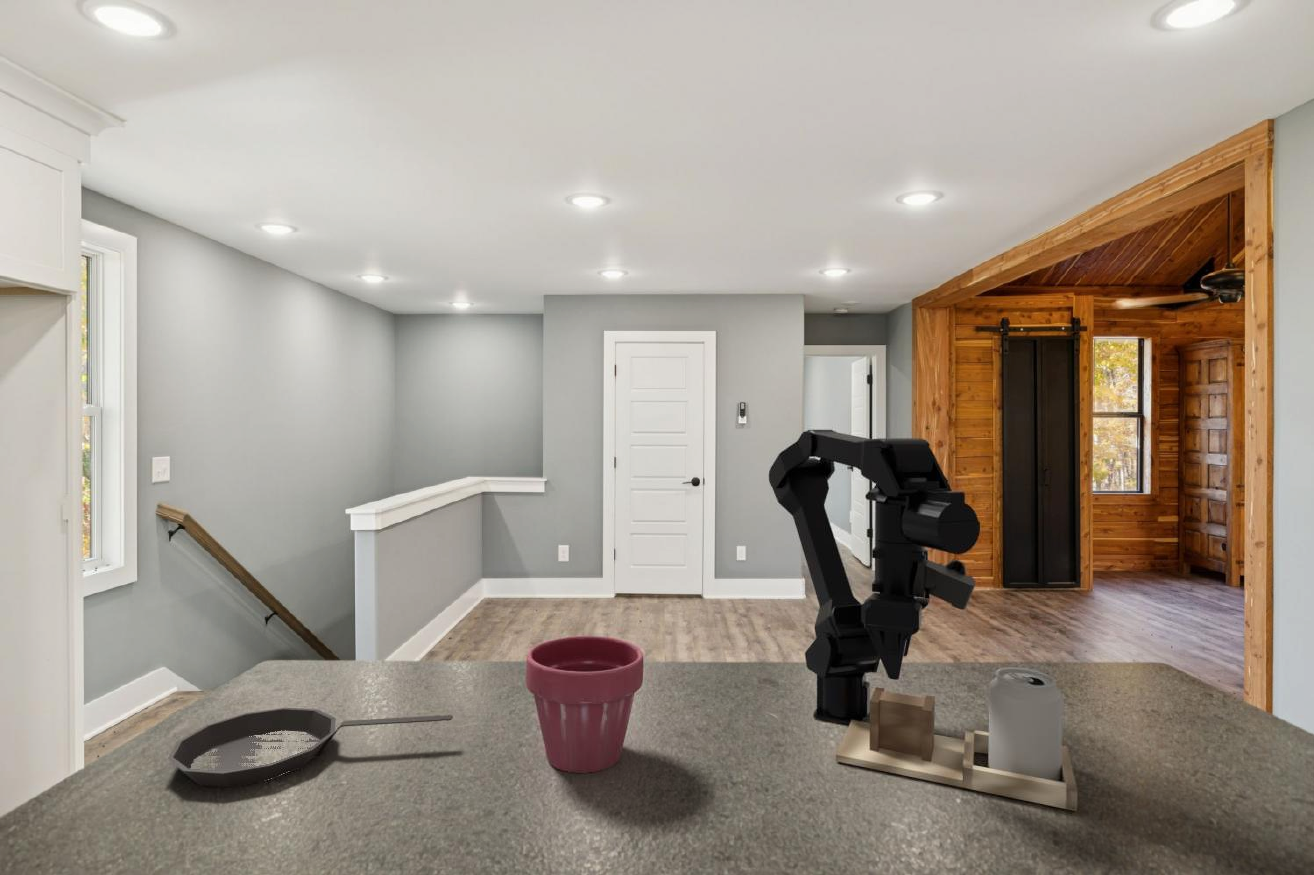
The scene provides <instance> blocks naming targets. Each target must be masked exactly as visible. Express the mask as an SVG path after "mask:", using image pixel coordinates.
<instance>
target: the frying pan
mask: <svg viewBox="0 0 1314 875" xmlns="http://www.w3.org/2000/svg"><path fill="white" fill-rule="evenodd" d="M453 717H454V716H453V715H452V714H446V715H425V716H410V717H408V716H407V717H406V716H405V717H390V718H389V717H388V718H387V717H386V718H375V719H374V718H373V719H372V718H371V719H351V720H344V721H342V722H341V723H340V725H339V726H338V727H337V729H336V723H337V722H336V720H337V718H336V717H334V716H332V715H330V714H329V713H326V712H324V711H322V710H320V709H318V708H317V709H316V708H315V709H314V708H301V707H300V708H299V707H279V708H273V709H265V710H258V711H250V712H244V713H242V714H237V715H235V716H231V717H228V718H225V719H221V720H219V721H215V722H212V723H209V724H206V725H204V726H202V727H201V728H199V729H197V730H195V731H194V732H192V733H190V734H188V735H186V736H184V737H182V738H181V739H179V740H178V741H176V743H175V744H174V747H173V748H172V750H171V751H170V753H169V755H168V757H167V760H168V761H169V762H170V763H171V764H172V765H174V766H175V767H176V768H177V769H179V771H181V772H182V773H183V774H184V775H186V777H189V778H190V779H191V780H192V779H193V780H192V781H193V782H195V783H196V782H197V783H196V784H198V785H199V784H201V785H200V786H205V785H214V786H213V787H220V786H225V787H224V788H234V787H239V785H240V786H244V785H245V784H246V785H251V783H252V784H256V783H255V782H257V783H260V782H259V781H263V782H265V781H264V780H268V779H271V778H274V777H276V778H278V777H277V776H279V775H281V774H283V773H286V772H288V771H291V772H293V771H292V770H294V769H297V768H299V769H301V768H303V767H304V766H305V765H307V764H308V763H309V762H310V761H311V760H313V759H314V758H315V757H317V756H318V755H319V754H320V755H321V754H322V753H323V751H325V748H326V747H327V746H328V745H329V743H330V742H331V741H332V739H333V737H334V736H335V735H336V734H337V733H338V731H339V730H340V729H341V728H344V727H358V726H375V725H393V724H395V725H396V724H410V723H429V722H440V721H441V722H442V721H451V720H453ZM281 730H282V731H285V730H286V731H293V732H294V731H295V732H297V731H298V732H303V733H304V732H306V733H307V734H306V735H310V736H311V735H312V736H311V737H312V738H314V739H315V740H314V739H313V740H312V739H310V738H309V741H308V740H307V741H305V742H318V743H316V744H315V745H314V746H312V747H309V748H308V747H307V749H308V750H305V751H303V752H300V753H297V754H295V755H292V756H289V757H287V758H284V759H281V760H279V761H276V762H273V763H270V764H265V765H259V766H255V765H254V764H253V765H254V766H253V765H252V764H251V765H252V766H253V767H252V766H251V767H250V766H249V767H248V766H247V764H246V766H244V765H245V764H244V763H256V762H254V761H255V760H254V759H255V758H254V759H250V761H249V759H248V758H246V757H245V756H255V749H262V746H261V745H259V743H258V745H256V744H257V743H254V742H284V741H282V739H281V740H280V739H279V740H278V739H277V740H273V739H272V740H270V741H268V740H267V741H266V739H265V740H264V739H263V740H261V739H262V738H261V737H260V738H259V737H258V738H256V736H254V735H263V734H264V735H265V734H266V733H267V734H266V735H270V734H268V733H270V732H275V731H276V732H277V731H281ZM271 735H277V734H275V733H274V734H271ZM278 735H282V733H281V734H278ZM288 735H289V734H288ZM301 735H302V734H301ZM303 735H304V734H303ZM249 736H250V737H249ZM251 736H252V737H251ZM301 741H302V740H301ZM303 741H304V740H303ZM252 742H253V743H252ZM288 742H289V741H288ZM294 742H295V741H294ZM296 742H297V741H296ZM310 746H311V745H310ZM260 747H261V748H260ZM278 747H279V746H278ZM278 747H277V749H278ZM280 747H281V746H280ZM280 747H279V749H281V748H280ZM271 748H272V746H271ZM271 748H270V749H271ZM273 748H274V746H273ZM273 748H272V749H273ZM282 748H283V747H282ZM212 749H218V750H217V752H216V750H215V752H214V753H213V752H212V753H211V751H212ZM251 749H252V750H253V749H254V750H253V751H252V750H251ZM264 749H265V748H264ZM266 749H267V748H266ZM268 749H269V748H268ZM274 749H276V746H275V748H274ZM298 749H299V748H298ZM300 749H301V748H300ZM302 749H303V748H302ZM250 750H251V751H250ZM209 751H210V753H211V755H210V753H209V755H210V756H218V757H219V756H220V757H219V758H218V757H217V758H216V760H217V759H218V760H217V761H216V760H215V762H213V763H218V766H217V767H216V766H215V769H214V768H213V769H214V770H213V769H212V768H211V767H210V768H211V769H210V768H209V769H210V770H209V769H208V770H200V769H190V768H191V764H192V763H194V762H193V761H194V759H196V758H197V757H198V756H203V755H205V753H206V752H209ZM251 752H252V753H251ZM215 753H216V754H215ZM207 754H208V753H207ZM212 754H213V755H212ZM317 754H318V755H317ZM209 755H208V756H209ZM316 755H317V756H316ZM206 756H207V755H206ZM242 756H243V758H244V757H245V758H244V759H243V758H242ZM256 756H257V754H256ZM314 756H315V757H314ZM313 757H314V758H313ZM312 758H313V759H312ZM251 760H252V761H251ZM213 761H214V760H213ZM308 761H309V762H308ZM210 762H211V761H210ZM210 762H209V763H210ZM307 762H308V763H307ZM207 763H208V762H207ZM211 763H212V762H211ZM219 763H220V764H219ZM239 763H240V764H239ZM242 763H243V764H244V765H243V764H242ZM257 763H258V762H257ZM241 764H242V765H243V766H244V767H243V766H242V765H241ZM304 764H305V765H304ZM219 765H220V766H219ZM249 765H250V764H249ZM303 765H304V766H303ZM302 766H303V767H302ZM300 767H301V768H300ZM297 770H298V769H297ZM294 771H295V770H294ZM286 774H287V773H286ZM281 776H282V775H281ZM279 777H280V776H279ZM274 779H275V778H274ZM271 780H272V779H271ZM268 781H269V780H268ZM233 786H234V787H233Z"/></svg>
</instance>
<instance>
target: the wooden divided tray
mask: <svg viewBox="0 0 1314 875" xmlns="http://www.w3.org/2000/svg"><path fill="white" fill-rule="evenodd" d="M871 695H872V696H871V697H870V711H869V722H866V721H863V722H862V721H856V720H851V723H850V724H848V727H847V729H846V731H845V733H844V735H843V738H842V739H841V742H840V744H839V746H838V748H837V750H836V752H835V761H836V762H839V763H844V764H847V765H852V766H857V767H863V768H867V769H872V770H876V771H881V772H882V771H883V772H887V773H891V774H896V775H901V776H905V777H911V778H915V779H920V780H924V781H929V782H934V783H939V784H944V785H950V786H954V787H958V788H964V789H969V790H972V791H978V792H983V793H988V794H992V795H997V796H1002V797H1007V798H1011V799H1016V800H1021V801H1026V802H1031V803H1034V804H1042V805H1045V806H1048V807H1055V808H1059V809H1064V810H1068V811H1074V812H1078V787H1077V786H1078V785H1077V782H1076V779H1075V776H1074V775H1075V774H1074V770H1073V765H1072V763H1071V762H1072V761H1071V758H1070V754H1069V750H1068V749H1069V748H1068V746H1067V745H1063V744H1062V778H1061V781H1060V782H1058V781H1053V780H1047V779H1042V778H1037V777H1032V776H1027V775H1022V774H1016V773H1011V772H1006V771H1001V770H996V769H991V768H989V767H984V766H981V765H980V766H979V765H975V764H974V762H975V753H981V754H984V755H989V731H988V732H987V731H982V730H978V729H970V728H965V733H964V734H965V736H964V739H962V738H957V737H956V738H955V737H950V736H949V737H948V736H944V735H939V734H935V704H936V701H935V696H932V695H928V694H926V695H925V697H921V696H916V695H910V694H909V695H908V694H904V693H897V692H892V691H891V692H889V691H885V688H884V687H875V688H874V691H873V693H872V694H871Z"/></svg>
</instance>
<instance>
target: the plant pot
mask: <svg viewBox="0 0 1314 875" xmlns="http://www.w3.org/2000/svg"><path fill="white" fill-rule="evenodd" d="M525 664H526V665H525V666H526V667H525V685H526V688H527V690H528V691H529V692H530V693H531V694H533V696H534V697H533V698H534V701H535V706H536V711H537V716H538V721H539V726H540V730H541V731H540V732H541V735H542V740H543V745H544V750H545V756H546V759H547V762H548V763H549V764H550V765H551V766H552V765H553V766H552V767H554V768H556V769H558V770H560V771H564V772H566V771H568V772H567V773H572V772H574V773H573V774H589V772H591V773H594V772H595V773H596V772H600V771H603V770H606V769H608V768H611V767H612V766H613V765H615V764H616V763H618V761H619V760H620V758H621V755H622V752H623V747H624V743H625V739H626V734H627V732H628V731H627V730H628V726H629V722H630V717H631V712H632V707H633V702H634V697H635V694H636V692H638V691H639V690H640V689H641V687H642V686H643V681H644V654H643V651H642V649H641V648H640V647H639V646H637V645H635V644H633V643H632V642H629V641H626V640H623V639H619V638H615V637H609V636H599V635H580V636H579V635H578V636H577V635H576V636H566V637H560V638H554V639H551V640H547V641H544V642H541V643H538V644H537V645H535V646H533V647H531V648H530V649H529V650H528V652H527V654H526V663H525Z"/></svg>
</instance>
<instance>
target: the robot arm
mask: <svg viewBox="0 0 1314 875" xmlns="http://www.w3.org/2000/svg"><path fill="white" fill-rule="evenodd" d="M798 437H799V438H798V439H797V441H795V442H793V443H792V444H791V445H789V446H788V447H786V448H785V449H783V450H782V451H781V452H780V453H779V454H778V455H777V457H776V459H775V460H774V461H773V463H772V465H771V466H770V468H769V472H768V482H769V485H770V487H771V488H772V491H773V493H774V496H775V498H776V500H777V503H778V504H780V506H781V507H783V508H784V510H786V511H787V512H788V514H790V516H792V519H793V521H794V525H795V527H796V530H797V531H796V532H797V535H798V538H799V541H800V545H801V548H802V551H803V552H802V553H803V555H804V559H805V562H806V564H807V568H808V571H809V572H808V573H809V575H810V578H811V581H812V585H813V588H814V591H815V595H816V598H817V601H818V605H819V609H818V613H817V616H816V618H815V619H816V620H815V622H814V626H813V628H814V632H815V639H814V641H813V642H812V643H811V644H810V646H809V647H808V648H807V650H805V652H804V656H805V662H806V668H807V669H808V670H809V671H810V672H813V673H814V674H816V709H815V711H813V718H814V719H817V720H824V721H829V722H834V723H840V724H846V725H850V723H851V720H856V721H862V722H865V719H867V718H868V716H869V715H870V700H871V682H870V681H867V674H869V673H872V674H875V673H877V672H878V669H879V665H880V661H881V664H882V666H883V668H884V671H885V673H886V675H887V678H889V680H894V681H899V679H900V675H901V670H902V666H903V660H904V657H908V654H909V649H910V644H911V640H912V636H913V635H916V634H917V633H919V632H920V628H921V626H922V612H923V610H924V609H925V608H926V607H927V606H929V604H930V599H931V596H933V597H935V598H937V599H940V600H942V601H944V602H946V603H949V604H951V606H952V607H954V608H956V609H959V610H962V611H965V610H966V608H967V605H968V604H969V601H970V599H971V597H972V594H973V592H974V590H975V586H976V579H974V578H973V575H972V576H971V575H967V570H966V563H964V562H962V561H961V560H960V561H959V560H958V559H955V558H953V559H951V560H950V561H948V562H947V563H946V564H945V565H943V564H942V563H940V562H938V563H937V562H934V561H933V560H930V559H929V550H928V549H933V550H937V551H940V552H944V553H945V552H946V553H948V554H949V553H950V554H952V555H953V554H954V555H962V554H966V553H967V552H969V551H970V550H971V549H972V548H973V547H974V546H975V545H976V544H977V541H978V539H979V537H980V532H981V522H980V521H979V519H978V518H979V517H978V515H977V514H976V511H975V510H974V509H973V508H972V506H971V505H969V504H967V503H966V502H965V501H966V500H965V499H966V494H965V492H964V491H958V490H957V491H956V490H954V491H953V490H952V489H951V486H950V484H949V479H947V477H946V475H945V474H944V472H943V470H942V468H941V465H940V464H939V462H938V459H937V458H936V456H935V454H934V452H933V451H932V449H931V447H930V446H931V445H930V443H929V442H928V441H927V440H926V439H923V438H919V437H917V438H916V437H915V438H913V437H908V438H906V437H904V438H903V437H902V438H898V437H895V438H894V437H893V438H886V437H885V438H883V437H882V438H881V437H880V438H867V437H862V436H857V435H851V434H846V433H841V432H838V431H836V430H833V429H807V430H806V431H803V432H802V433H801V434H800V436H798ZM817 458H819V459H817ZM835 463H838V464H841V465H843V466H844V465H845V466H848V467H852V468H856V469H858V470H860V475H861V476H862V477H863V478H865V479H866V480H868V481H870V482H871V483H873V484H874V487H873V488H871V489H870V490H869V491H868V492H867V493H866V494H865V499H866V500H867V501H872V502H874V548H872V550H871V552H872V553H871V557H872V559H874V580H873V581H872V582H871V592H873V593H872V594H871V595H870V596H868V598H866V599H865V600H864V602H863V603H861V602H860V601H859V600H858V599H857V598H856V597H855V596H854V594H853V590H852V587H851V584H850V580H849V578H848V576H847V572H846V569H845V565H844V563H843V559H842V557H841V553H840V550H839V547H838V544H837V541H836V538H835V535H834V532H833V529H832V526H831V523H830V520H829V516H828V513H827V511H826V508H825V503H826V500H827V497H828V493H829V491H830V490H829V489H830V484H829V480H830V479H831V477H832V476H833V474H834V473H835V472H836V471H835V470H836V469H835ZM926 548H928V549H926Z"/></svg>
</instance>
